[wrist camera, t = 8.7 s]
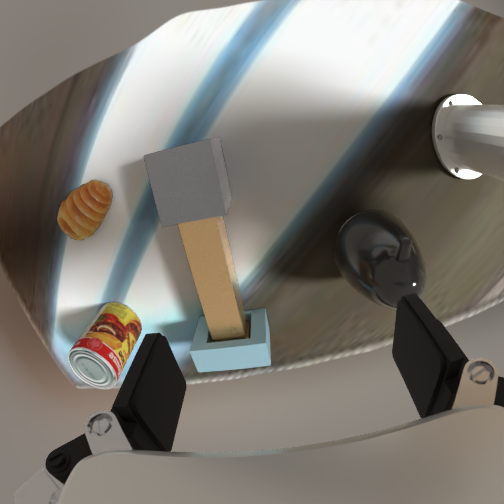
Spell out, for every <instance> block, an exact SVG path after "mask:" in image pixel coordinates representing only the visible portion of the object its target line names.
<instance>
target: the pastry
mask: <svg viewBox="0 0 504 504" xmlns="http://www.w3.org/2000/svg"><path fill="white" fill-rule="evenodd" d="M111 201H112V191H111V189H110V188H109V186H108V185H107V184H105V183H103V182H101V181H97V180H92V181H90V182H88V183H86V184H83V185H81V186H80V187H79V188H77V189H76V190H73V191H71V193H70V194H69V196H68V197H67V199H66V200H63V201H62V202H61V205H60V208H59V212H58V218H57V221H58V224H59V226H60V228H61V229H62V231H63V232H64V233H65V234H67V235H68V236H69V237H70V238H72V239H75V240H80V241H81V240H84V239H85V238H87V237H90V236H92V235H93V234H94V232H95V231H96V229H97V228H98V227H99V225H100V224H101V222H102V220H103V218H104V216H105V215H106V212H107V211H108V209H109V207H110V205H111Z"/></svg>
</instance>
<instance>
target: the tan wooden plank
mask: <svg viewBox="0 0 504 504" xmlns="http://www.w3.org/2000/svg"><path fill="white" fill-rule="evenodd" d="M178 226H179V230H180V234H181V237H182V241H183V244H184V248H185V252H186V255H187V259H188V262H189V266H190V269H191V272H192V276H193V279H194V283H195V286H196V289H197V292H198V296H199V299H200V302H201V305H202V309H203V312H204V315H205V318H206V321H207V324H208V327H209V330H210V333H211V336H212V339H213V342H222V341H231V340H239V339H248V338H250V328H251V325H250V321H249V320H247V319H246V314H245V310H244V306H243V302H242V298H241V293H240V289H239V285H238V281H237V276H236V272H235V268H234V263H233V259H232V255H231V250H230V246H229V242H228V237H227V233H226V228H225V224H224V219H223V216H218V217H213V218H207V219H202V220H197V221H191V222H186V223H181V224H178Z"/></svg>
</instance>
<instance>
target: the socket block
mask: <svg viewBox="0 0 504 504" xmlns="http://www.w3.org/2000/svg"><path fill="white" fill-rule="evenodd" d="M245 314H246V319H247V320H249V321H250V325H251V328H250V338H248V339H239V340H231V341H222V342H213V339H212V336H211V333H210V330H209V327H208V324H207V321H206V318H205V316H201V317H199V320H198V324H197V327H196V331H195V334H194V338H193V341H192V345H191V348H190V353H191V356H192V358H193V361H194V363H195V365H196V368H197V370H198V372H209V371H222V370H233V369H243V368H252V367H261V366H269V365H271V357H270V334H269V325H268V320H267V315H266V310H265V308H262V309H255V310H248V311H245Z"/></svg>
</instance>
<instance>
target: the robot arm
mask: <svg viewBox="0 0 504 504" xmlns="http://www.w3.org/2000/svg"><path fill="white" fill-rule="evenodd" d="M432 140H433V145H434V149H435V151H436V154H437V157H438V158H439V160H440V162H441V164H442V165H443V166H444V168H445V169H446V170H447V171H448V172H449V173H451V174H452V175H454V176H456V177H459V178H461V179H467V180H469V179H474V178H477V177H479V176H481V175H482V174H483V175H486V176H489V177H492V178H495V179H498V180H501V181H504V105H491V104H481V103H480V102H479V101H478V100H476V99H475V98H473V97H471V96H469V95H465V94H455V95H451V96H448V97H446V98H445V99H444V100H443V101H442V102H441V103H440V104H439V106H438V107H437V109H436V112H435V114H434V118H433V122H432ZM392 354H393V358H394V361H395V363H396V365H397V367H398V369H399V371H400V373H401V375H402V377H403V379H404V381H405V384H406V386H407V388H408V390H409V392H410V395H411V397H412V399H413V401H414V404H415V406H416V408H417V410H418V413H419V415H420V417H421V418H422V419H419V420H416V421H412V422H409V423H406V424H402V425H399V426H395V427H392V428H388V429H384V430H380V431H376V432H373V433H369V434H364V435H360V436H356V437H351V438H346V439H341V440H337V441H330V442H325V443H319V444H312V445H306V446H299V447H292V448H283V449H272V450H261V451H245V452H220V453H195V452H170V451H171V449H172V446H173V441H174V436H175V433H176V428H177V424H178V420H179V416H180V411H181V408H182V403H183V399H184V395H185V391H186V381H185V379H184V377H183V375H182V372H181V370H180V368H179V366H178V364H177V362H176V359H175V357H174V355H173V353H172V350H171V348H170V346H169V343H168V341H167V339H166V337H165V336H162V335H161V334H160V333H152V334H146V335H145V337H144V339H143V341H142V343H141V345H140V347H139V349H138V352H137V354H136V356H135V358H134V360H133V362H132V364H131V366H130V368H129V371H128V373H127V375H126V377H125V379H124V381H123V384H122V386H121V388H120V390H119V393H118V395H117V397H116V399H115V402H114V404H113V407H112V409H111V411H106V410H102V411H98V412H95V413H94V414H92V415H91V416H90V417H89V418H88V419H87V420H86V422H85V425H84V432H85V433H84V434H83V435H81V436H79V437H77V438H75V439H74V440H72V441H70V442H68V443H66V444H64V445H62V446H61V447H59V448H57V449H55V450H53V451H52V452H51V453H50V454H49V455H48V457H47V459H46V468H45V469H43V468H41V469H40V470H38V471H37V472H36V473H35V474H34V475H33V476H32V477H31V478H29V479H28V480H27V481H26V482H25V483H24V484H23V485H22V486H21V487H20V488H19V489H17V491H16V492H15V494H14V504H504V378H503V377H499V376H498V369H497V367H496V366H495V365H494V364H493V362H491V361H489V360H487V359H484V358H476V359H473V360H470V361H469V360H468V358H467V357H466V356H465V354H464V353H463V351H462V350H461V349H460V347H459V346H458V344H457V343H456V342H455V340H454V339H453V338H452V336H451V335H450V334H449V332H448V331H447V330H446V328H445V327H444V326H443V324H442V323H441V322H440V321H439V320H437V319H436V318H435V317H434V315H433V314H432V313H431V312H430V310H429V309H428V308H427V306H426V305H425V304H424V303H423V301H422V300H421V299H420V298H419V296H418V295H417V294H416V293H412V294H408V295H404V296H402V297H401V300H398V302H397V311H396V322H395V332H394V341H393V349H392Z"/></svg>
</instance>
